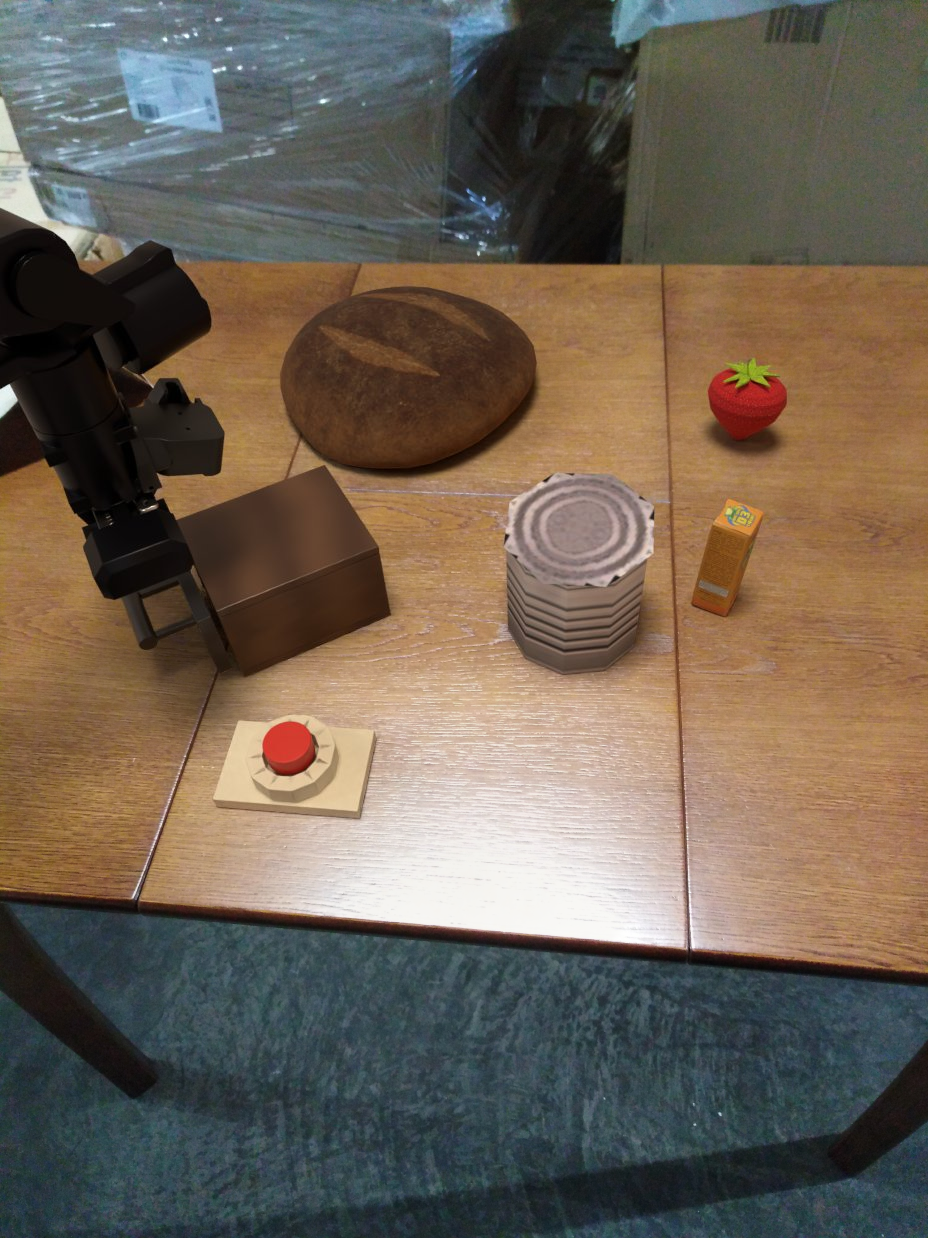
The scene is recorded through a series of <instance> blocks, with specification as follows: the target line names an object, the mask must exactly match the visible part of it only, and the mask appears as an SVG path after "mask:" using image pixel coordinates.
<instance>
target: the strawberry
mask: <svg viewBox="0 0 928 1238" xmlns="http://www.w3.org/2000/svg"><path fill="white" fill-rule="evenodd" d="M724 365H725V366H726V367H729V368H726V369H724V370H722V371H721V372H719V373H717V374H716V375H714V376H713V378H712V380H711V382H710V384H709V386H708V388H707V396H708V402H709V408H710V411H711V413H712V414H713V416H714V417H715V419H716V420H717V422H718V423H719V425H720V426H721V427H722V428H723V429H724V430H725V432H726V433H727V434H728V436H730V438H731V439H732V440H735V441H742V440H745V439H746V438H748V437H749V436H752V435H754V434H757V433H759V432H761V431H763V430H765V428H767V427H769V426H771V425H772V424H773V423H775V422H776V421H777V420H778V418H779V417H780V415H781V414H782V413H783V411H784V410H785V408H786V407H787V403H788V391H787V388H786V386H785V385H784V384H783V382H781V380H780V379H779V378H780V377H781V375H779V374H776V373H772V372H769V371H767V370H768V369H769V368H770V367H771V366H772V365H771V364H770V365H760V366H759V365H758V366H757V363H756V358H755V357H753V358H752V357H751V358H750V359H749V360H748V361H747V363H744V362H743V361H741V360H739V361H738V364H734V363H730V362H724Z"/></svg>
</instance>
